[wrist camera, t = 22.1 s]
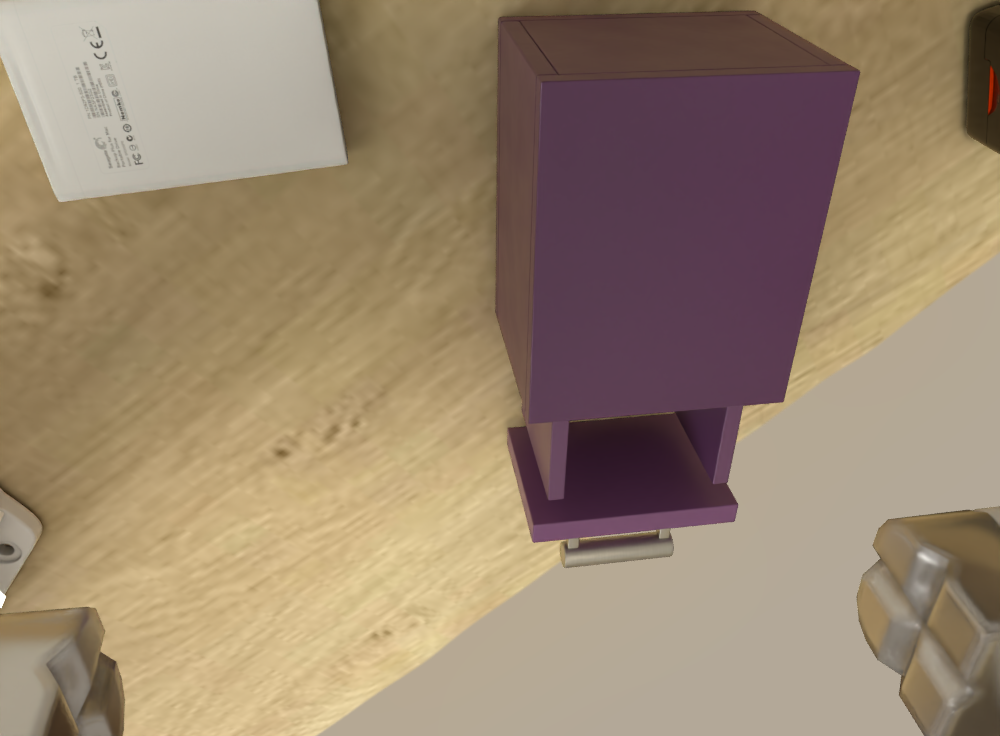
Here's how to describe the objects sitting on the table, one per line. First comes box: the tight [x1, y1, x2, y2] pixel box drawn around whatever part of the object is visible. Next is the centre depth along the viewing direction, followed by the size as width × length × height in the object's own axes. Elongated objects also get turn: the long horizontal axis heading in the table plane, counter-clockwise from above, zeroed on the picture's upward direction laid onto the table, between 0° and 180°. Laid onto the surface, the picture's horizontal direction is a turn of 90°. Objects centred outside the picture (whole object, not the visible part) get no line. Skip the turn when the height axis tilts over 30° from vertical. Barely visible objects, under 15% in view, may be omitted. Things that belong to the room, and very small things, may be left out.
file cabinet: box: [495, 11, 860, 424], centre depth 39 cm, size 15×12×10 cm
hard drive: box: [0, 0, 348, 202], centre depth 37 cm, size 2×8×12 cm
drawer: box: [507, 403, 743, 568], centre depth 45 cm, size 18×10×8 cm, turn 0°
